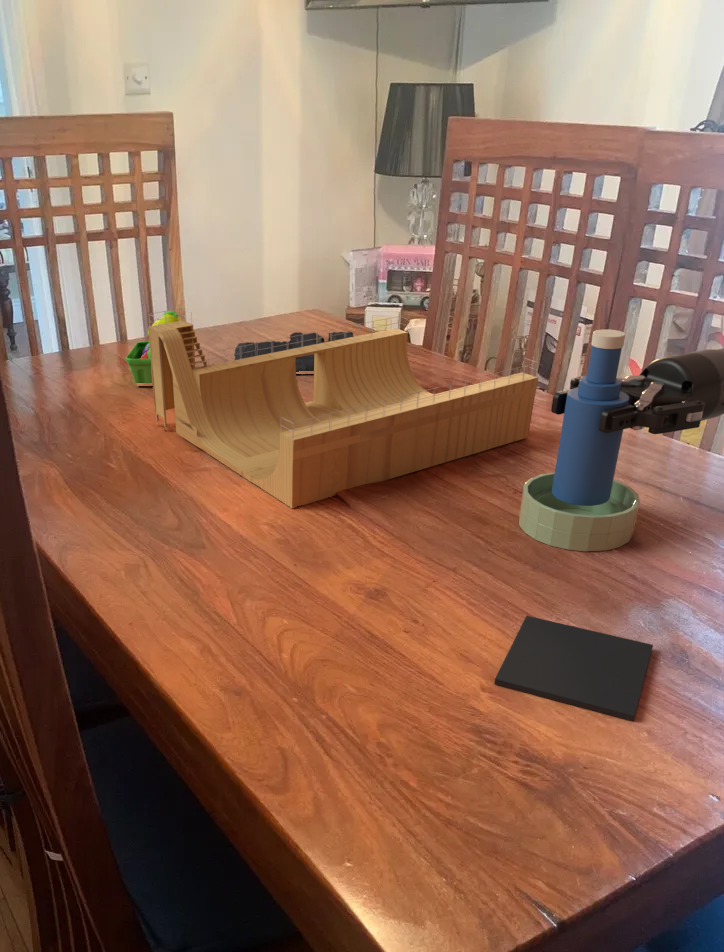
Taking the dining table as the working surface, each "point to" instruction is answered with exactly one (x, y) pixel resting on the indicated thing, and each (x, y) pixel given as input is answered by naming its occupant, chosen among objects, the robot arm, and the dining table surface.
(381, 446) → the skate ramp
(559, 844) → the dining table surface
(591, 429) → the bottle
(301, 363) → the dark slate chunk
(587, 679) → the mat
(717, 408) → the robot arm
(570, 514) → the bowl
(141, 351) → the fruit basket
